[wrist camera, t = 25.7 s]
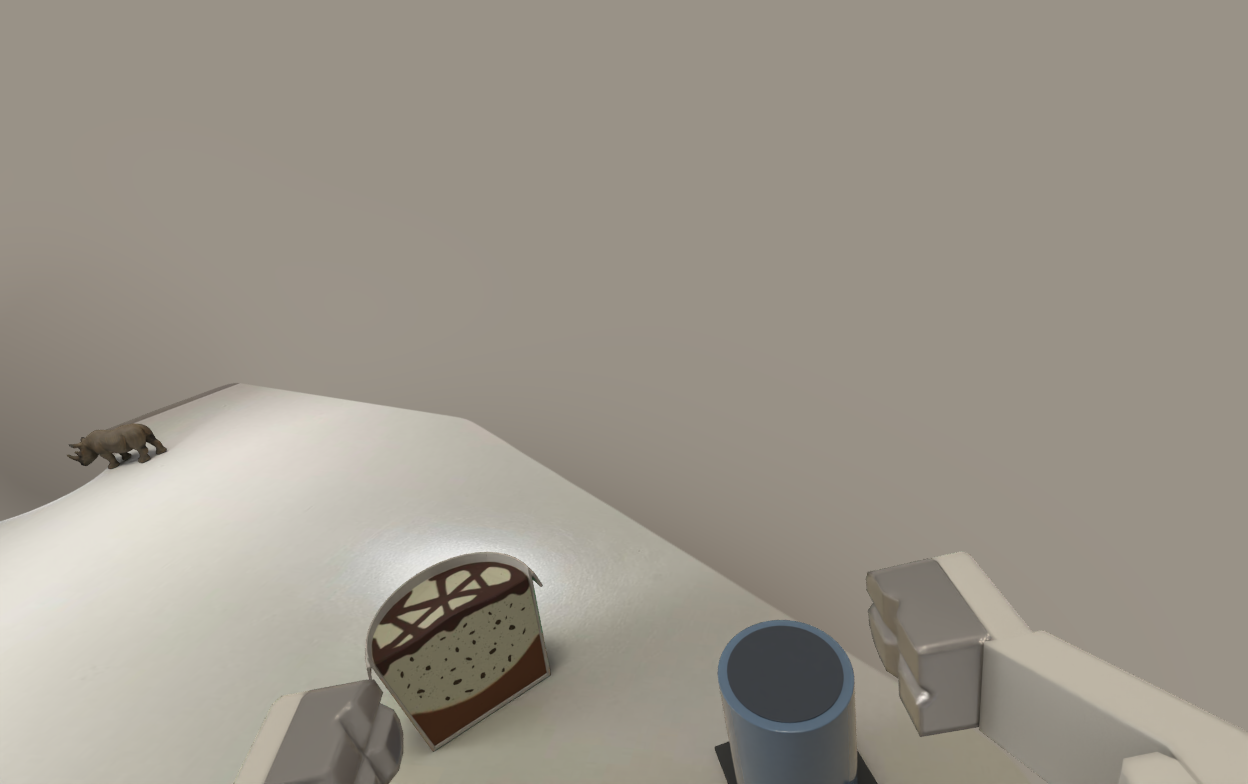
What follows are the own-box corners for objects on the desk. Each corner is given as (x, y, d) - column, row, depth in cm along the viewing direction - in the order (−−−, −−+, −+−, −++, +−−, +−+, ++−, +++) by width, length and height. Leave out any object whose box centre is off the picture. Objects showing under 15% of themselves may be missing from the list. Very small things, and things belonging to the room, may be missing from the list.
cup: (844, 876, 33) (837, 752, 28) (720, 822, 36) (697, 704, 32) (869, 757, 38) (866, 637, 33) (758, 719, 41) (742, 606, 37)
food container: (533, 618, 53) (501, 524, 49) (567, 663, 48) (535, 563, 44) (390, 704, 48) (340, 608, 44) (412, 765, 43) (358, 663, 39)
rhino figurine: (88, 463, 101) (67, 431, 99) (171, 447, 101) (152, 414, 99) (70, 478, 98) (47, 445, 95) (156, 460, 98) (136, 427, 95)
